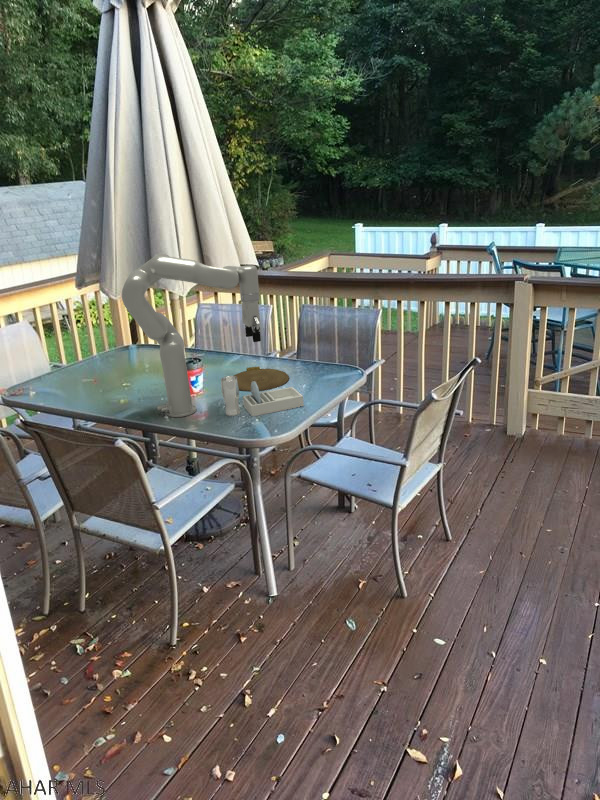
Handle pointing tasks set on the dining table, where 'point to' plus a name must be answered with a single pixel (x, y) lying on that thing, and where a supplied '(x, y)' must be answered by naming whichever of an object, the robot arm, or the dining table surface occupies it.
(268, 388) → the decorative disc
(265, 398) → the rack
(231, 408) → the beer glass
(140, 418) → the dining table surface
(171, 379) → the robot arm
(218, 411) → the dining table surface
